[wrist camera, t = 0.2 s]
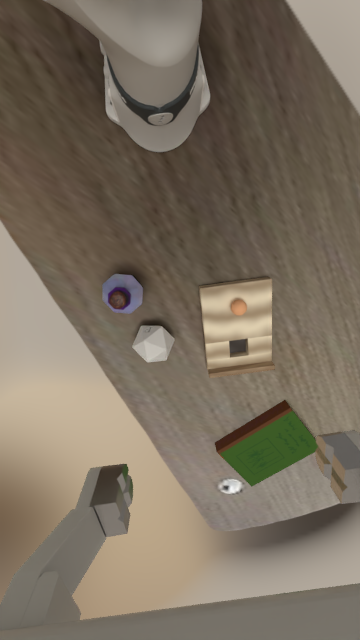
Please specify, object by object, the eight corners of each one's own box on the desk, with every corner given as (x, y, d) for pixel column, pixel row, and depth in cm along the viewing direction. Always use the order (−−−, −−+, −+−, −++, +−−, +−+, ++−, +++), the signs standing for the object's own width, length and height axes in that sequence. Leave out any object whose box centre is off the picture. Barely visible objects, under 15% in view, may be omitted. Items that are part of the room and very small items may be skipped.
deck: (198, 286, 56) (200, 290, 51) (267, 276, 55) (275, 280, 51) (207, 368, 63) (209, 377, 59) (267, 360, 63) (274, 369, 59)
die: (179, 328, 60) (164, 320, 51) (176, 364, 58) (159, 363, 49) (149, 326, 63) (129, 319, 53) (145, 361, 61) (123, 360, 52)
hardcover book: (284, 398, 68) (290, 407, 65) (314, 437, 74) (321, 448, 70) (212, 442, 73) (214, 453, 70) (246, 476, 78) (249, 487, 75)
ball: (228, 298, 54) (232, 303, 51) (244, 296, 54) (249, 301, 51) (229, 313, 56) (233, 318, 52) (244, 311, 56) (249, 316, 52)
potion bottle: (137, 311, 57) (129, 330, 46) (103, 294, 56) (86, 310, 44) (153, 279, 55) (149, 291, 43) (118, 260, 53) (104, 268, 42)
